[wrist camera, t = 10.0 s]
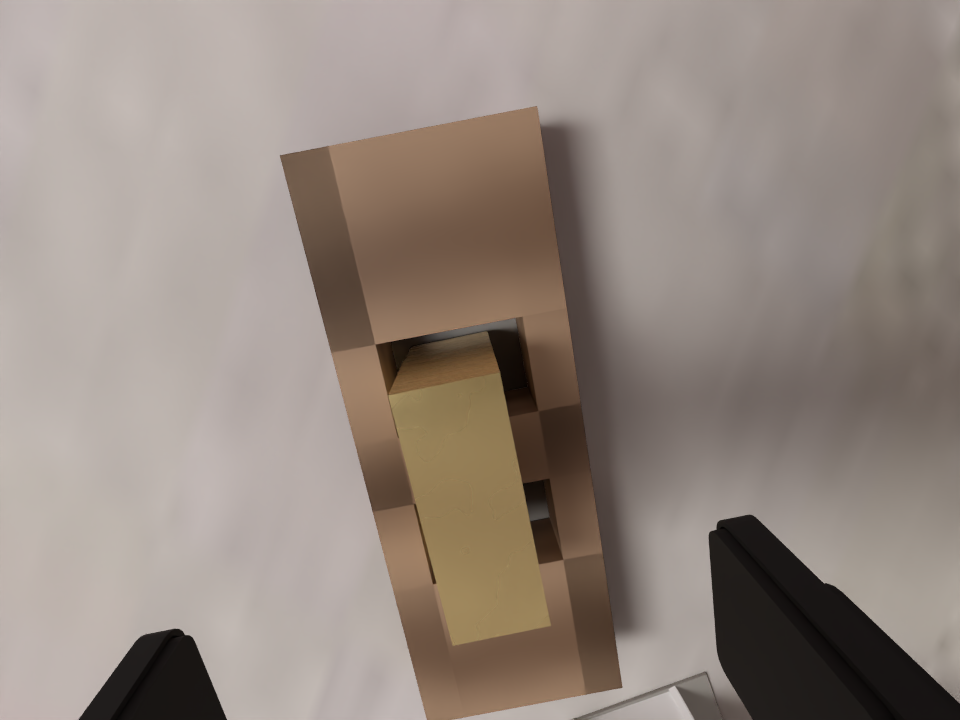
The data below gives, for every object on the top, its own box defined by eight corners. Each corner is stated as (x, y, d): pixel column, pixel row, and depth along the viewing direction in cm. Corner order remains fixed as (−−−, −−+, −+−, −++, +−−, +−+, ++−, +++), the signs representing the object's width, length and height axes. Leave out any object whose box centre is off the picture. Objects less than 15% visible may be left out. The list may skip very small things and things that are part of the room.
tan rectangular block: (410, 344, 20) (387, 395, 14) (486, 328, 20) (500, 372, 14) (454, 526, 22) (452, 646, 16) (523, 511, 22) (551, 626, 16)
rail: (307, 167, 19) (279, 155, 16) (524, 125, 19) (537, 106, 16) (431, 664, 24) (428, 724, 21) (602, 632, 24) (622, 687, 21)
